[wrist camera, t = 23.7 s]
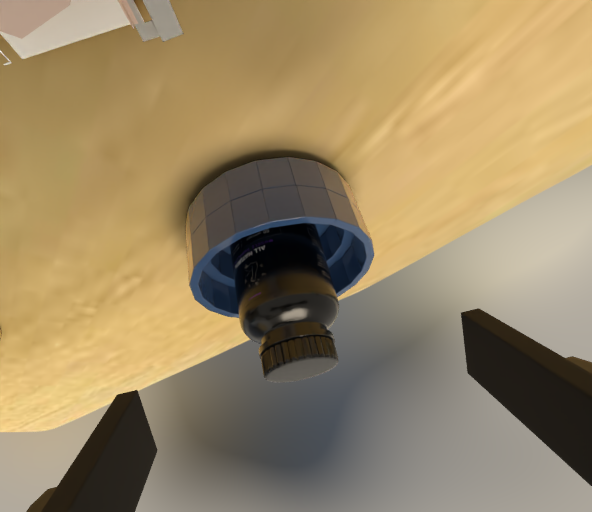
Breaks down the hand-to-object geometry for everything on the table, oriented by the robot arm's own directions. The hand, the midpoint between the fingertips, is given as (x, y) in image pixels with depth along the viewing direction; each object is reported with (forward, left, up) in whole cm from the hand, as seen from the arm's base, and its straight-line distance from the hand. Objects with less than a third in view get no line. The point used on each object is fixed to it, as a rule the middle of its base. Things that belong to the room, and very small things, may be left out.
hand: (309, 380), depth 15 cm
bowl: (+1, -8, -15) cm, 18 cm away
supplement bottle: (+1, -8, -15) cm, 17 cm away
